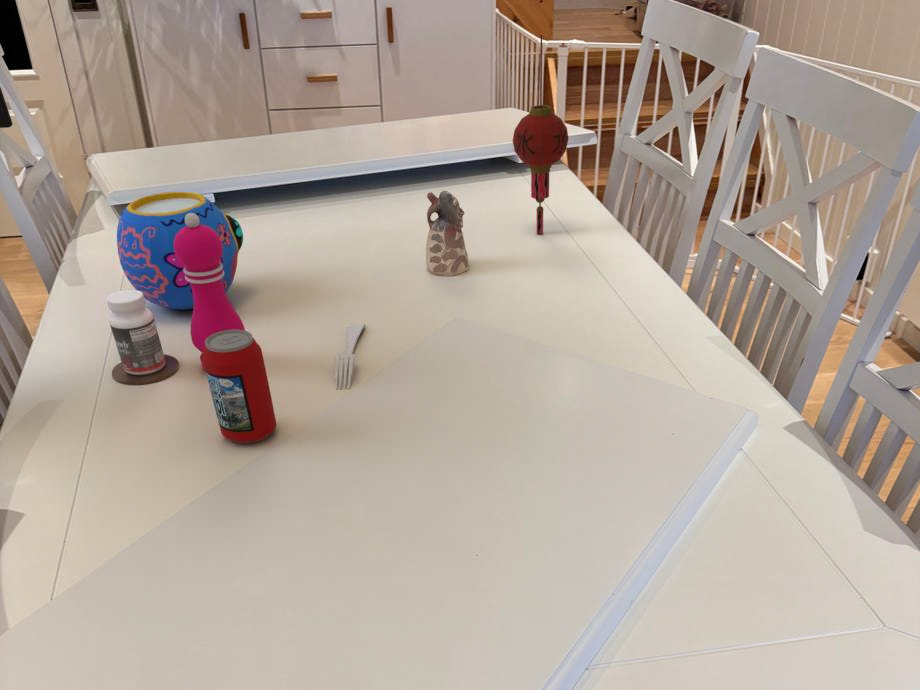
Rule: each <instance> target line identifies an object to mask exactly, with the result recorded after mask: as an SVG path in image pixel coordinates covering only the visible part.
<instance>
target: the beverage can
mask: <svg viewBox="0 0 920 690" xmlns="http://www.w3.org/2000/svg"><path fill="white" fill-rule="evenodd" d="M205 344H206V345H205V349H204V352H203V357H202V358H203V362H204V366H205V370H206V372H205V375H206V380H207V383H208V387H209V391H210V394H211V398H212V403H213V407H214V410H215V411H214V412H215V414H216V419H217V422H218V426H219V429H220V430H219V431H220V434H221V435H222V437H224V438H225V439H227V440H229V441H232V442H235V443H237V444H253V443H257V442H260V441H262V440H265V439H266V438H268V436H270V435H271V434H272V433H273V432H274V431H275V429H276V428H277V420H276V414H275V410H274V404H273V399H272V393H271V389H270V383H269V379H268V375H267V374H268V373H267V369H266V365H265V360H264V355H263V350H262V347H261V345H260V344H259V343H258V341H256V339H255V338H254V336H253V334H252V333H251V332H249V331H247V330H245V331H244V330H225V331H221V332H217V333H215V334H212V335H211V336H209V337H208V338H207V339H206V341H205Z"/></svg>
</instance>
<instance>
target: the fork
mask: <svg viewBox="0 0 920 690" xmlns="http://www.w3.org/2000/svg"><path fill="white" fill-rule="evenodd" d="M365 326H366V324H365V323H350V324H348V325H347V328H346V331H347V332H346V334H347V345H346V346H347V347H346V352H345V353H344V354H343V353H342V354H335V355H334V383H335V384H334V386H335V390H337V389H338V377H339V390H340V391H341V390H342V382H343V390H346V385H347V389H348V390H350V389H351V383H352V382H351V381H352V375H353V367H354V362H355V357H356V356H357V354H356V353H353V352H354V350H355V347H356V343H357V341H358V339H359V337H360V335H361V333H362V331H363V329H364V328H365ZM338 375H339V376H338ZM347 376H348V380H347Z"/></svg>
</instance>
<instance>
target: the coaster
mask: <svg viewBox="0 0 920 690" xmlns="http://www.w3.org/2000/svg"><path fill="white" fill-rule="evenodd" d="M164 357H165V365H164V367H163V368H162V369H161V370H159V371H157V372H154V373H151V374H147V375H132V374H129V373H127V372H126V371H125V370H124V368H123V365H122V362H121V361H120V362H119V363H118V364H115V366H114V367H113V369H112V370H111V377H112V379H113V380H114V381H116V382H117V383H119V384H123V385H129V386H140V385H149V384H153V383H158V382H160V381H163V380H166V379H168V378H170V377H171V376H173V375H174V374H175V373H177V372H178V371H179V368H180V362H179V360H178V359H177V358H176V357H174V356H173V355H170V354H165V353H164Z"/></svg>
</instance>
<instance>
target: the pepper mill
mask: <svg viewBox="0 0 920 690" xmlns="http://www.w3.org/2000/svg"><path fill="white" fill-rule="evenodd" d="M199 222H200V221H199V217H198V216H197V215H196V214H194V213H188V214H187V215H186V216H185V223H186V225H187V226H186V227H184V228H183V229H181V230H180V231H179V232H178V233H177V234H176V236H175V239H174V251H175V255H176V257H177V259H178V260H179V261H180V262H181V263H182V264H183V265H185V267H184V269H183V271H184V273H185V279H186V280H187V281H188V282H190V285H191V288H192V293H193V299H194V308H193V311H192V315H191V320H190V321H191V322H190V339H191V342H192V344H193V346H194V347H195V348H196V349H197V350H198V351H200V352H201V354H200V355H199V359H200V364H201V368H202V371H204V372H205V373H206V370H205V366H204V362H203V358H202V357H203V352H204V349H205V345H206V344H205V341H206V339H207V338H208V337H209V336H211V335H212V334H215V333H217V332H221V331H225V330H244V331H246V328H245V325H244V323H243V321H242V319H241V316H240V315H239V313H237V310H235V308H234V306H233V305H232V303H231V301H230V300H229V297H228V296H227V292H226V293H225V290H224V287H223V281H222V277H223V276H224V271H223V269H222V268H223V265H222V263H220V262H219V260H220V258H221V256H222V254H223V245H222V242H221V240H220V237H219V236H218V234H217V233H216V232H215V231H214V230H213V229H211V228H210V227H208V226H204V225H199Z"/></svg>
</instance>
